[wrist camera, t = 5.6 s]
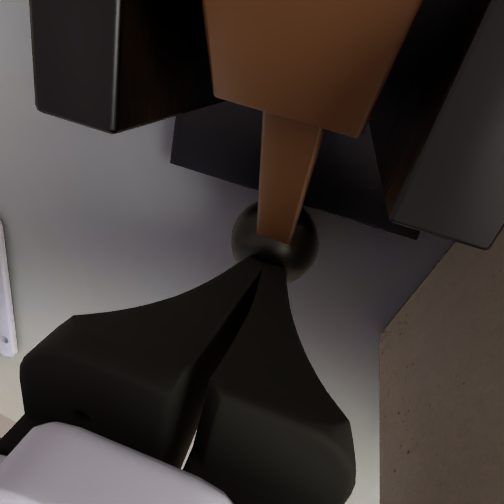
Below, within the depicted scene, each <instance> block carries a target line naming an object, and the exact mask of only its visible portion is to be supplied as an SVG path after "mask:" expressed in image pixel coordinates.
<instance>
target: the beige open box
mask: <svg viewBox="0 0 504 504" xmlns="http://www.w3.org/2000/svg"><path fill="white" fill-rule="evenodd" d="M379 376H380V504H504V227H503V229H502V230H501V232H500V233H499V235H498V236H497V238H496V239H495V241H494V243H493V244H492V246H491V247H490V248H489V249H488V250H480V249H477V248H474V247H471V246H468V245H464V244H461V243H458V242H455V243H454V244H453V245H452V247H451V248H450V249H449V250H448V252H447V253H446V254H445V255H444V256H443V258H442V259H441V260H440V261H439V263H438V264H437V265H436V266H435V268H434V269H433V270H432V271H431V273H430V274H429V275H428V276H427V277H426V279H425V280H424V281H423V282H422V284H421V285H420V286H419V287H418V289H417V290H416V291H415V292H414V293H413V295H412V296H411V297H410V298H409V300H408V301H407V302H406V303H405V305H404V306H403V307H402V308H401V310H400V311H399V312H398V313H397V314H396V316H395V317H394V318H393V319H392V321H391V322H390V323H389V324H388V326H387V327H386V328H385V329H384V331H383V332H382V333H381V334H380V337H379Z"/></svg>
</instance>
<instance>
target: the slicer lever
mask: <svg viewBox="0 0 504 504" xmlns="http://www.w3.org/2000/svg"><path fill="white" fill-rule="evenodd" d="M422 2H423V0H202V8H203V16H204V24H205V32H206V40H207V49H208V57H209V65H210V73H211V81H212V89H213V95H214V96H215V97H216V98H219V99H222V100H226V101H229V102H233V103H236V104H240V105H243V106H247V107H250V108H254V109H257V110H260V111H263V116H262V136H261V155H260V175H259V195H258V201H257V202H255V203H253V204H251V205H250V206H248V207H247V208H246V209H245V210H244V211H243V212H242V213H241V214H240V216H239V217H238V219H237V221H236V223H235V225H234V228H233V231H232V238H231V245H232V251H233V255H234V257H235V260H236V262H237V263H239V262H240V261H242V260H243V259H244V258H246V257H248V256H250V257H252V258H255V259H257V260H260V261H262V262H265V263H268V264H272V265H275V266H279V267H284V268H286V270H287V283H289V282H292V281H294V280H296V279H298V278H299V277H301V276H302V275H303V274H304V273H306V272H307V271H308V269H309V268H310V267H311V265H312V264H313V262H314V260H315V258H316V255H317V252H318V247H319V235H318V230H317V227H316V224H315V222H314V220H313V218H312V217H311V215H310V214H309V213H308V212H307V210H306V209H304V208H303V207H302V206H303V203H304V199H305V196H306V193H307V189H308V186H309V183H310V179H311V176H312V173H313V169H314V166H315V163H316V159H317V156H318V153H319V149H320V146H321V143H322V139H323V136H324V133H325V129H326V130H330V131H333V132H336V133H340V134H343V135H347V136H350V137H354V138H359V137H360V136H361V135H362V134H363V132H364V130H365V128H366V125H367V123H368V121H369V119H370V117H371V114H372V112H373V110H374V108H375V106H376V103H377V101H378V99H379V97H380V95H381V92H382V90H383V88H384V86H385V84H386V81H387V79H388V77H389V75H390V73H391V70H392V68H393V66H394V64H395V62H396V59H397V57H398V55H399V53H400V50H401V48H402V46H403V44H404V42H405V39H406V37H407V35H408V33H409V31H410V28H411V26H412V24H413V22H414V20H415V17H416V15H417V13H418V11H419V9H420V6H421V4H422Z"/></svg>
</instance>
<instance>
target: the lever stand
mask: <svg viewBox="0 0 504 504" xmlns="http://www.w3.org/2000/svg"><path fill="white" fill-rule="evenodd" d="M29 6H30V22H31V39H32V55H33V72H34V88H35V105H36V107H37V110H39V111H40V112H42V113H45V114H48V115H51V116H55V117H58V118H61V119H64V120H68V121H71V122H74V123H77V124H80V125H84V126H87V127H90V128H93V129H97V130H100V131H103V132H106V133H109V134H116V133H120V132H123V131H127V130H130V129H133V128H137V127H140V126H143V125H147V124H150V123H154V122H157V121H160V120H164V119H167V118H170V117H174V116H176V118H175V127H174V135H173V143H172V151H171V160H170V163H172V164H175V165H178V166H181V167H184V168H188V169H191V170H194V171H197V172H200V173H204V174H207V175H210V176H213V177H216V178H220V179H223V180H226V181H229V182H232V183H235V184H239V185H242V186H245V187H248V188H251V189H255V190H258V191H259V175H260V155H261V136H262V116H263V111H260V110H257V109H254V108H250V107H247V106H243V105H240V104H236V103H233V102H229V101H226V100H222V99H219V98H216V97H215V96H214V95H213V89H212V81H211V73H210V65H209V57H208V49H207V40H206V32H205V24H204V16H203V8H202V0H29ZM303 205H306V206H309V207H312V208H315V209H318V210H322V211H325V212H328V213H331V214H334V215H338V216H341V217H344V218H347V219H350V220H354V221H357V222H360V223H363V224H366V225H369V226H373V227H376V228H379V229H382V230H385V231H389V232H392V233H395V234H398V235H401V236H405V237H408V238H411V239H414V240H416V239H417V238H418V236H419V234H420V232H421V231H422V232H426V233H429V234H432V235H435V236H439V237H442V238H445V239H448V240H451V241H455V242H458V243H461V244H464V245H468V246H471V247H474V248H477V249H480V250H488V249H489V248H490V247H491V246H492V244H493V243H494V241H495V239H496V238H497V236H498V235H499V233H500V232H501V230H502V229H503V227H504V0H423V2H422V4H421V6H420V9H419V11H418V13H417V15H416V17H415V20H414V22H413V24H412V26H411V28H410V31H409V33H408V35H407V37H406V39H405V42H404V44H403V46H402V48H401V50H400V53H399V55H398V57H397V59H396V62H395V64H394V66H393V68H392V70H391V73H390V75H389V77H388V79H387V81H386V84H385V86H384V88H383V90H382V92H381V95H380V97H379V99H378V101H377V103H376V106H375V108H374V110H373V112H372V114H371V117H370V119H369V121H368V123H367V125H366V128H365V130H364V132H363V134H362V135H361V136H360V137H359V138H354V137H350V136H347V135H343V134H340V133H336V132H333V131H330V130H326V129H325V133H324V136H323V139H322V143H321V146H320V149H319V153H318V156H317V159H316V163H315V166H314V169H313V173H312V176H311V179H310V183H309V186H308V189H307V193H306V196H305V199H304V203H303Z"/></svg>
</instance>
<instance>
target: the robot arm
mask: <svg viewBox="0 0 504 504" xmlns="http://www.w3.org/2000/svg"><path fill="white" fill-rule="evenodd" d="M17 353H18V347H17V338H16V330H15V322H14V314H13V305H12V297H11V289H10V281H9V272H8V264H7V256H6V248H5V240H4V231H3V225H2V222H1V220H0V355H3V356H6V357H9V358H11V357H13V356H14V355H16V354H17ZM20 383H21V390H22V397H23V404H24V411H25V414H24V415H23V416H22V417H21V419H20V420H19V421H18V422H17V423H16V424H15V425H14V426H13V427H12V428H11V429H10V430H9V431H8V432H7V433H6V434H5V435H4V436H3V437H2V438H0V504H344V503H345V502H346V501H347V499H348V498H349V496H350V495H351V493H352V491H353V488H354V486H355V477H356V463H355V452H354V444H353V438H352V432H351V426H350V422H349V420H348V419H347V417H346V416H345V415H344V414H343V412H342V411H341V410H340V408H339V407H338V406H337V404H336V403H335V402H334V400H333V399H332V398H331V397H330V395H329V394H328V392H327V391H326V389H325V388H324V386H323V385H322V383H321V382H320V380H319V378H318V376H317V375H316V373H315V371H314V369H313V367H312V365H311V363H310V362H309V360H308V358H307V355H306V353H305V351H304V349H303V346H302V344H301V341H300V339H299V336H298V333H297V330H296V327H295V324H294V320H293V317H292V313H291V308H290V303H289V297H288V290H287V270H286V268H284V267H279V266H275V265H272V264H268V263H265V262H262V261H260V260H257V259H255V258H252V257H250V256H248V257H246V258H244V259H243V260H242V261H240V262H239V263H237V264H236V265H234V266H233V267H231V268H230V269H228V270H227V271H225V272H224V273H222V274H220V275H219V276H217V277H215V278H214V279H212V280H210V281H208V282H206V283H204V284H202V285H200V286H198V287H196V288H194V289H192V290H190V291H187V292H185V293H183V294H180V295H177V296H175V297H172V298H169V299H165V300H162V301H158V302H155V303H151V304H148V305H144V306H139V307H135V308H130V309H124V310H118V311H112V312H104V313H94V314H85V315H73V316H72V317H71V318H69V319H68V320H67V321H65V322H64V323H63V324H61V325H60V326H58V327H57V328H56V329H55V330H54V331H53V332H52V333H50V334H49V335H48V336H47V337H46V338H45V339H44V340H42V341H41V342H40V343H39V344H38V345H37V346H36V347H35V348H33V349H32V350H31V351H30V352H29V353H28V354H27V355H26V356H24V358H23V360H22V362H21V364H20ZM196 430H197V432H196ZM195 432H196V436H195V440H194V445H193V448H192V450H191V452H190V454H189V457H188V459H187V461H186V464H185V466H184V468H183V470H181V466H182V464H183V462H184V459H185V457H186V454H187V452H188V449H189V447H190V444H191V442H192V440H193V437H194V435H195Z"/></svg>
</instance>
